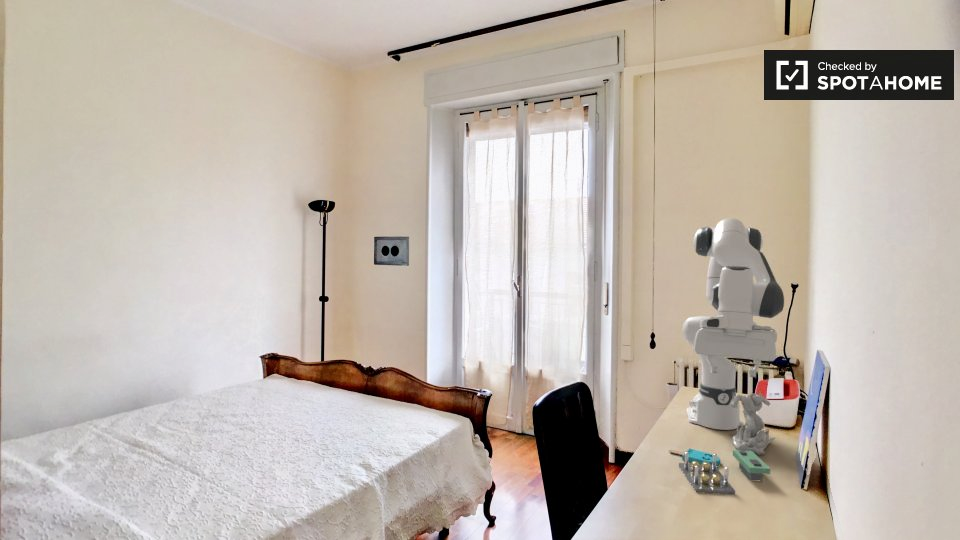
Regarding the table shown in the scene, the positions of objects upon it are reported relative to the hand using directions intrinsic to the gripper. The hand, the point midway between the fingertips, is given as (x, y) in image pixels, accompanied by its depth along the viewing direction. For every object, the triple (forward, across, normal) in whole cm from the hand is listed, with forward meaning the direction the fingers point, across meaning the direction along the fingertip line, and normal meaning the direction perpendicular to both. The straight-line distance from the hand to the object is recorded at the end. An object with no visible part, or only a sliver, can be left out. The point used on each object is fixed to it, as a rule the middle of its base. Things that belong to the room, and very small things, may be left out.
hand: (732, 374), depth 142 cm
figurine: (+24, -12, -37) cm, 45 cm away
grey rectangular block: (+28, -8, -15) cm, 32 cm away
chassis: (+30, +5, -7) cm, 31 cm away
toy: (+28, +6, -21) cm, 35 cm away
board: (+25, -8, -14) cm, 30 cm away
